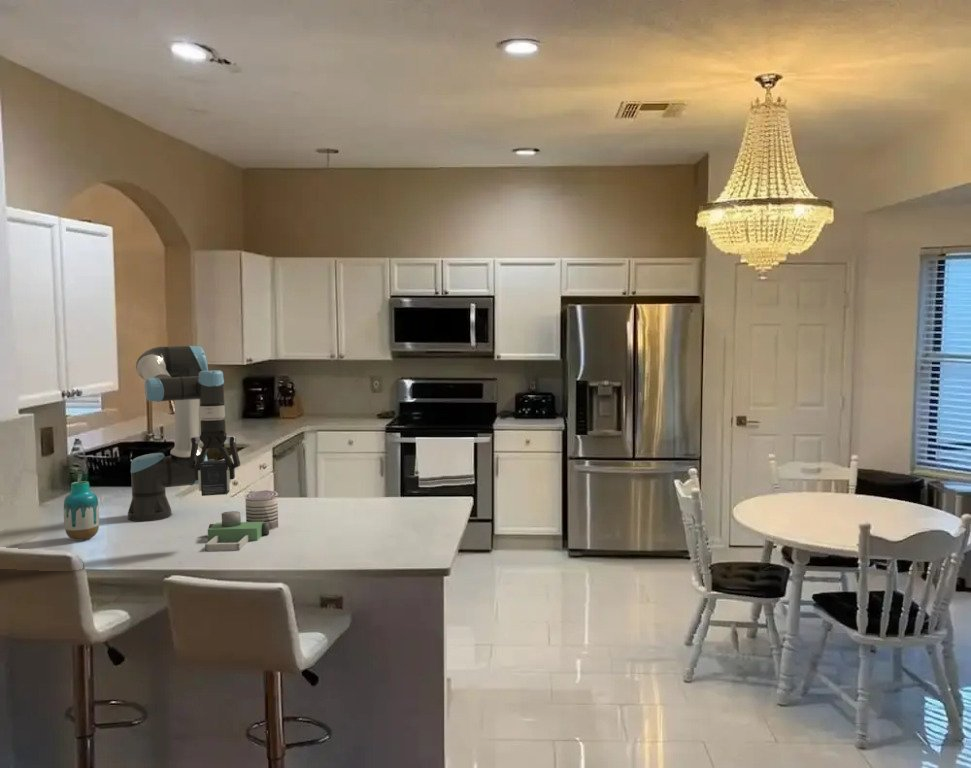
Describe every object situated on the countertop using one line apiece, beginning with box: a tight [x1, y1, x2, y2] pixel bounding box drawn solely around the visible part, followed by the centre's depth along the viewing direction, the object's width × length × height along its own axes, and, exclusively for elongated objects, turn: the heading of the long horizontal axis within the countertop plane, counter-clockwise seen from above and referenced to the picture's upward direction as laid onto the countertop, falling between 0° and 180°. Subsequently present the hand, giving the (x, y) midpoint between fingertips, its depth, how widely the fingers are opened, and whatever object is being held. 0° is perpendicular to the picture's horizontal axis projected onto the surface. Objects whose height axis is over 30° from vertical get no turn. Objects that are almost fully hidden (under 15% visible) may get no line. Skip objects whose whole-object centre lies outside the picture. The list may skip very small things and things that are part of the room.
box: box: [200, 459, 230, 497], centre depth 267 cm, size 8×6×11 cm
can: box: [244, 489, 279, 531], centre depth 293 cm, size 11×11×12 cm
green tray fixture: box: [204, 510, 271, 552], centre depth 273 cm, size 19×22×8 cm
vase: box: [63, 481, 100, 541], centre depth 280 cm, size 11×11×19 cm
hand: (215, 489), depth 267 cm, fingers closed on box, 8 cm apart
